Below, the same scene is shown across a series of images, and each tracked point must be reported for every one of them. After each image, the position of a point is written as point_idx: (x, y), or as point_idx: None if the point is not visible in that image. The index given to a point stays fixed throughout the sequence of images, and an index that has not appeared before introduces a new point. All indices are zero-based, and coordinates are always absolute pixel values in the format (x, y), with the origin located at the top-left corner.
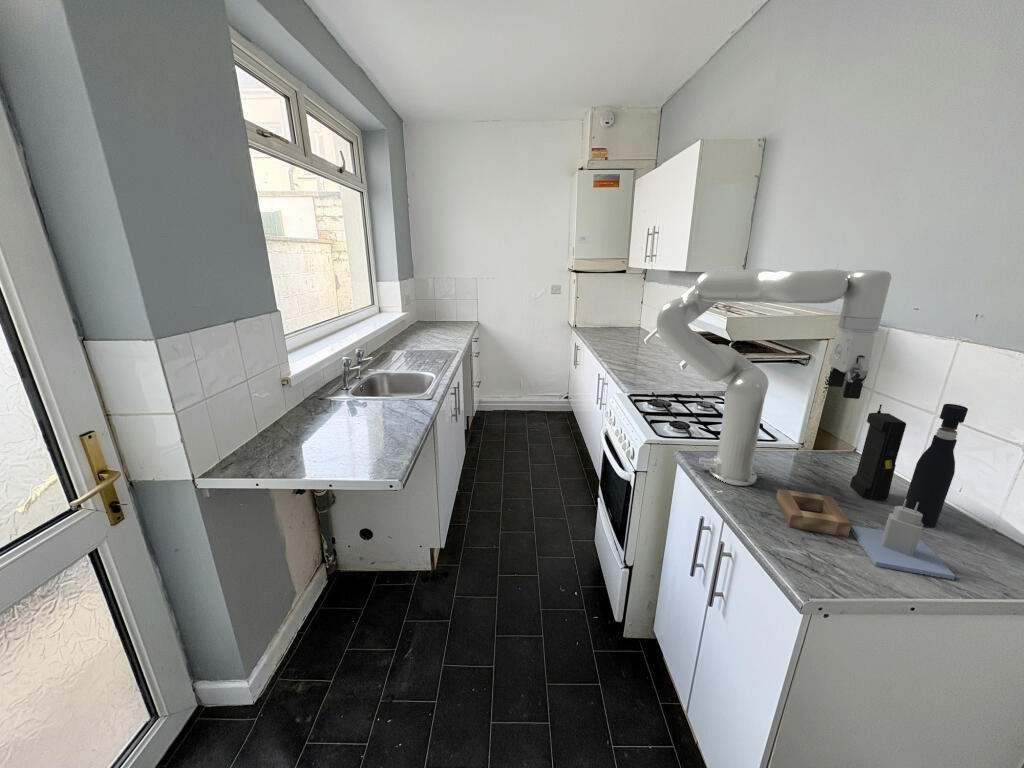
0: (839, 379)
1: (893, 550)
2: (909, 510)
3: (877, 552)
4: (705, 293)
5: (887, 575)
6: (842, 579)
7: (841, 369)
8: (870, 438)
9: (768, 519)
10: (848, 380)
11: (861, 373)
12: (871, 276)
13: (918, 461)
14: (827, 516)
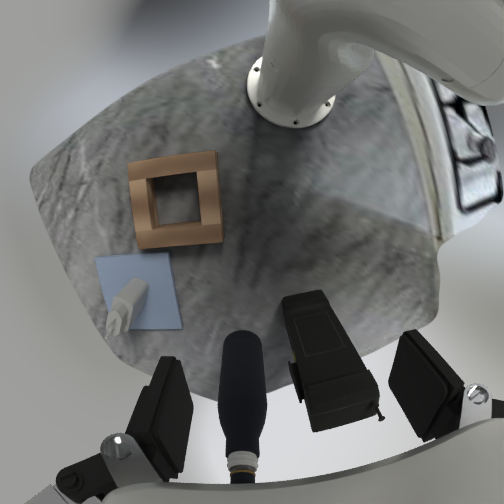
0: (408, 396)
1: None
2: (114, 325)
3: (114, 266)
4: None
5: (87, 263)
6: (59, 213)
7: (139, 498)
8: (343, 356)
9: (146, 135)
10: (133, 444)
11: (43, 493)
12: None
13: (247, 397)
14: (144, 218)
